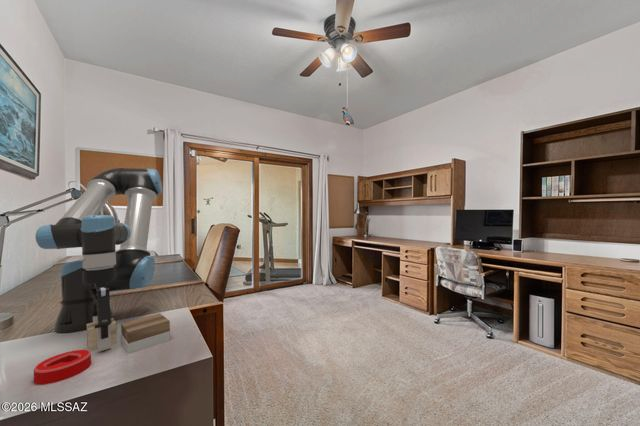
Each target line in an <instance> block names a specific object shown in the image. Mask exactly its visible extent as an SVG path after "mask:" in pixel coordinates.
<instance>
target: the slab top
mask: <svg viewBox="0 0 640 426" xmlns="http://www.w3.org/2000/svg"><path fill="white" fill-rule="evenodd" d="M168 331H170V332H171V321H170V319H168V318H167V317H166V316H164V315H163V314H162V313H156V314H153V315H149V316H144V317H140V318H138V319H137V318H136V319H133V320H129V321H125V322H121V323H120V335H121V334H122V336H123V337H124V339H125V340H126V341H127V343H128V344H129V343H132V342H136V341H139V340H142V339H145V338H149V337H152V336H155V335H158V334H162V333H165V332H168Z"/></svg>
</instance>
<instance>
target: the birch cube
mask: <svg viewBox="0 0 640 426" xmlns="http://www.w3.org/2000/svg"><path fill="white" fill-rule="evenodd" d="M103 321H106V320H103ZM111 321H112V322H111V324H110V330H111V345H114V344H118V342H117V322H116V320H115V319H114V317H113V318H111ZM95 325H98V321H97V322H93V323H89V324H87V329H86V340H87V341H86V345H87V348H88V349H87V350H89V351H90V352H91V351H94V350H98V337H97V328H95Z"/></svg>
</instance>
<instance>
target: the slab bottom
mask: <svg viewBox="0 0 640 426" xmlns="http://www.w3.org/2000/svg"><path fill="white" fill-rule="evenodd" d="M170 333H171V330H170V331H168V332H165V333H162V334H158V335H155V336H152V337H149V338H145V339H142V340H139V341H136V342H132V343H129V344H128V343H127V341H126V340H125V339H124V337H123V336H122V334H121V333H120V344H121V346H122V347H123V349H124V351H125V352H126V354H128V355H129V354H133V353H135V352H138V351H141V350H144V349H147V348H150V347H153V346H156V345H159V344H163V343H165V342H166V343H167V342H168V341H171V336H170V335H171V334H170Z"/></svg>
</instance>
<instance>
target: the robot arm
mask: <svg viewBox="0 0 640 426" xmlns="http://www.w3.org/2000/svg"><path fill="white" fill-rule="evenodd" d="M162 194H163V183H162V178H161V175H160V173H159V171H158V170H157V168H156V169H155V168H148V167H147V168H146V167H145V168H137V167H136V168H134V167H133V168H132V167H130V168H129V167H127V168H126V167H116V168H115V167H114V168H110V169H107V170H105V171H103V172H100V173H99V174H97V175H95V176H94V177H93V178H91V179H90V180H89V181H88V182H87V184H86V190H85V191H83V192H82V194H80V196H79V197H78V199H77V200H76V201H75V202H74V203H73V204H72V205H71V206H70V207H69V208H68V210H67V211H66V212H65V213H64V214H63V216H61V218H60V219H59V220H58V221H57V222H56V223H55V224H45V225H42V226H39V227H38V229H37V230H36V232H35V242H36V244H37V246H38V247H39V248H41V249H43V250H63V249H73V248H81V250H82V251H81V253H82V254H81V255H82V258H79V259H78V260H72V261H70V262H66V263H64V264H63V265H62V266H61V272H60V273H61V274H60V283H61V285H60V286H61V308H60V310H59V313H58V316H57V318H56V321H55V323H54V331H55V332H56V333H59V334H63V333H64V334H65V333H74V332H79V331H84V330H85V331H86V330H87V324H89V323H93V322H97V321H98V325H95V328H97V337H98V349H97V352H98V353H100V352H102V351H105V350H109V349H111V348H112V344H111V330H110V324H111V322H112V321H111V318H113V319H114V316H113V314H114V313H113V310H112V308H111V304H110V303H111V302H110V300H111V298H110V293H111V292H116V291H125V290H136V289H140V288H142V289H143V288H146V287H147V286H149V284H151V282H152V279H153V277H154V274H155V267H156V266H155V265H156V262H155V257H154V256H152V255H151V252H150V251H149V250H147V249H148V239H149V232H150V231H149V230H150V223H151V216H152V206H153V202H154V201H156V200H157V198H158V195H159V196H160V195H162ZM118 195H122V196H123V195H124V196H125V197H126V198H127V205H126V212H125V217H124V222H120V221H116V220H115V216H114V215H111V214H110V215H109V214H101V215H100V214H99V213H100V212H101V210H102V209H103V207H105V205H106V204H107V202H108V201H109V200H111V199H113V198H114V197H115V196H118ZM119 245H120V246H119ZM116 246H119V248H118V249H116ZM103 320H106V321H103Z"/></svg>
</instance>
